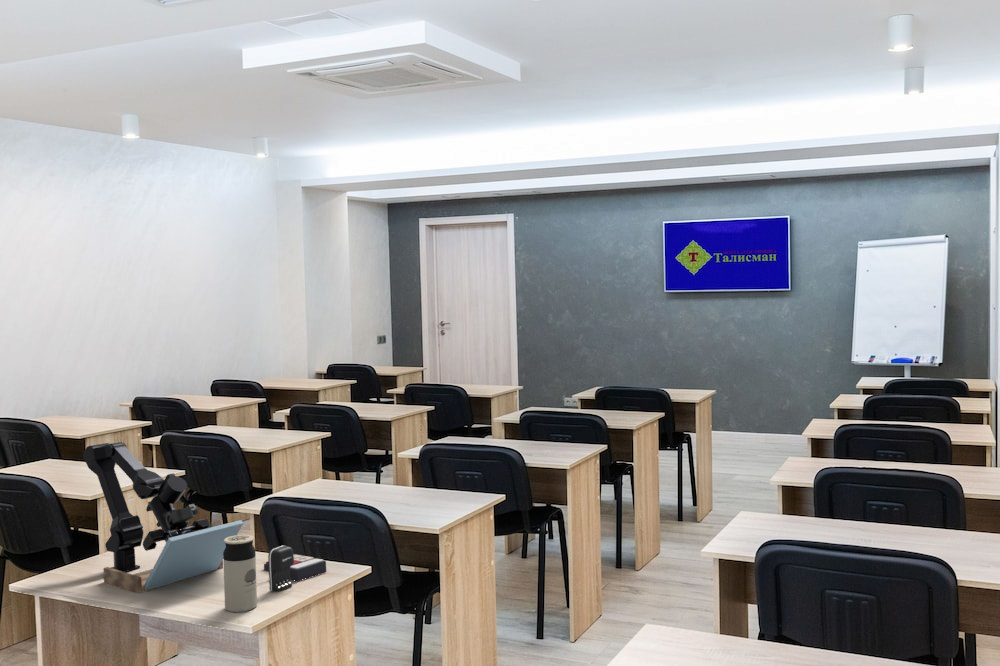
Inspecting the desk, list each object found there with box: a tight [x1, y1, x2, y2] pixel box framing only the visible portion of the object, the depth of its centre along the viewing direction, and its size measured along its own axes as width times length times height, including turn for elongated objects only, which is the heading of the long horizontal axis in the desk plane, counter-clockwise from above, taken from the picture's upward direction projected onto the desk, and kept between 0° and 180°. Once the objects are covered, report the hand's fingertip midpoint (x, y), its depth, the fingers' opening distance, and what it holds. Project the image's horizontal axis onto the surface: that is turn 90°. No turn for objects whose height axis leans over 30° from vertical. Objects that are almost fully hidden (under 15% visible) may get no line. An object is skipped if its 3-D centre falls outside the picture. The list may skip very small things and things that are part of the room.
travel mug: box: [223, 534, 258, 613], centre depth 232 cm, size 8×8×18 cm
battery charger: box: [267, 545, 294, 592], centre depth 247 cm, size 7×4×11 cm, turn 151°
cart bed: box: [103, 560, 224, 594], centre depth 259 cm, size 17×27×5 cm, turn 143°
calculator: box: [263, 553, 327, 582], centre depth 262 cm, size 11×4×15 cm
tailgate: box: [143, 519, 244, 591], centre depth 250 cm, size 1×23×20 cm
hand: (190, 558), depth 251 cm, fingers closed, pressing on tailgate
